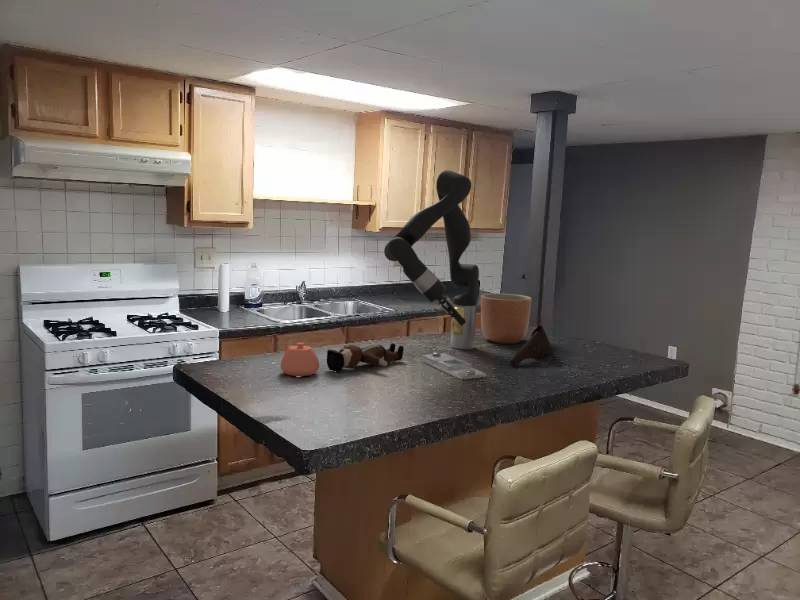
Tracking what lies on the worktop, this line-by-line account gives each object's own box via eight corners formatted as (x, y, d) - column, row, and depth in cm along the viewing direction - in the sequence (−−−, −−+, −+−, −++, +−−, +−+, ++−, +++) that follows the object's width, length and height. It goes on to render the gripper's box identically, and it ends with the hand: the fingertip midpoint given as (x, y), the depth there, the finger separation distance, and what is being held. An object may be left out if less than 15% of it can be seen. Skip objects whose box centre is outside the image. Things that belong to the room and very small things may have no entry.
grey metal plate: (421, 361, 226) (422, 352, 226) (444, 359, 231) (444, 350, 230) (461, 379, 203) (461, 370, 203) (485, 377, 208) (486, 367, 207)
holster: (527, 395, 229) (557, 352, 243) (517, 361, 221) (549, 318, 235) (514, 392, 233) (545, 350, 247) (504, 358, 224) (537, 316, 239)
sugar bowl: (296, 381, 195) (297, 348, 193) (269, 372, 204) (269, 341, 203) (327, 374, 204) (327, 343, 202) (299, 366, 213) (300, 336, 212)
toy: (422, 351, 218) (357, 351, 197) (418, 378, 219) (353, 381, 198) (376, 338, 235) (311, 336, 214) (372, 363, 236) (307, 364, 214)
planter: (468, 339, 269) (471, 295, 266) (499, 334, 283) (502, 292, 280) (508, 348, 254) (510, 301, 251) (538, 342, 268) (541, 298, 265)
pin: (448, 333, 216) (450, 307, 215) (458, 332, 218) (460, 306, 217) (455, 335, 212) (456, 308, 211) (465, 334, 214) (466, 308, 213)
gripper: (438, 280, 206) (473, 318, 207) (437, 276, 220) (470, 312, 221) (421, 295, 207) (456, 333, 208) (421, 290, 221) (454, 326, 222)
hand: (463, 322), depth 215 cm, fingers closed on pin, 4 cm apart
